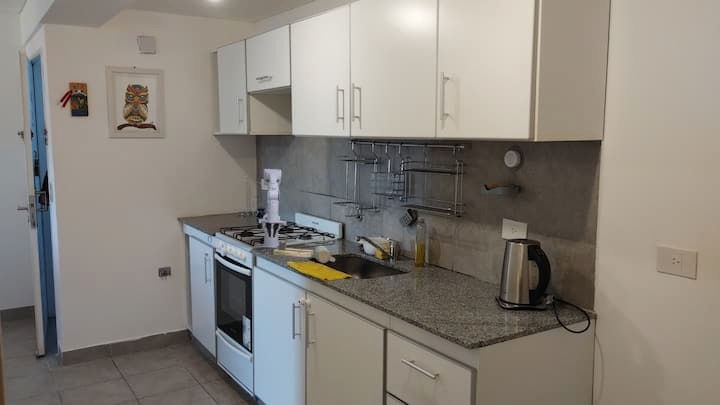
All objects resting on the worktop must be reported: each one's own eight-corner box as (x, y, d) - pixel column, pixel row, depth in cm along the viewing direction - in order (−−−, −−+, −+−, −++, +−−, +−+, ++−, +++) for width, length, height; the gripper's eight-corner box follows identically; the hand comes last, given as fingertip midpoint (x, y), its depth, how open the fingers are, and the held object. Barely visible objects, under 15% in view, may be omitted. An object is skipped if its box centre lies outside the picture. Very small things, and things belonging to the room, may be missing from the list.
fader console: (277, 250, 316) (277, 247, 316) (313, 253, 314) (313, 249, 314) (273, 254, 307) (273, 250, 307) (310, 257, 306) (310, 253, 305)
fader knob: (280, 248, 313) (280, 240, 313) (286, 248, 313) (286, 241, 312) (278, 249, 309) (279, 242, 309) (284, 250, 309) (284, 242, 308)
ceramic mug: (316, 263, 294) (317, 249, 293) (313, 259, 302) (314, 245, 300) (337, 263, 297) (338, 249, 296) (332, 259, 305) (333, 245, 304)
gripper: (257, 212, 305) (256, 237, 307) (284, 214, 304) (283, 239, 306) (261, 210, 312) (260, 234, 314) (287, 212, 311) (286, 237, 313)
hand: (271, 237), depth 311 cm, fingers closed
